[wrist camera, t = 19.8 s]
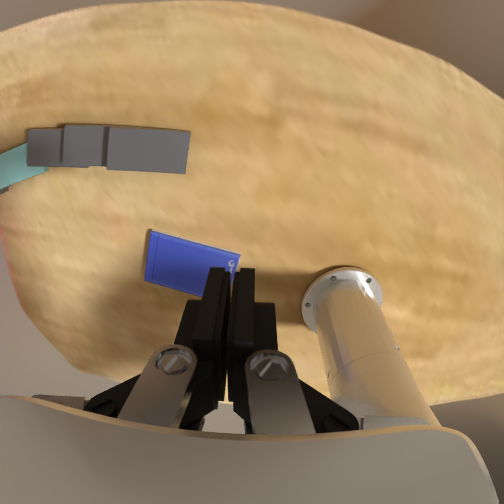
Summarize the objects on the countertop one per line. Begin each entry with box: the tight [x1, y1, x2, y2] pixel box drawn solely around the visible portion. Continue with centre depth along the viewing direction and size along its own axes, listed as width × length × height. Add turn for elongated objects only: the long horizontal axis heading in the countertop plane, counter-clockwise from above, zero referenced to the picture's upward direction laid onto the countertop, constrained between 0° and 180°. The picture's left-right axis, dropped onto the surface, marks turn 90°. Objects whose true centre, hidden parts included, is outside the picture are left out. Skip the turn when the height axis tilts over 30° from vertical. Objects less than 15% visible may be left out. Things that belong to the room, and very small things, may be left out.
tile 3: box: [27, 128, 89, 168], centre depth 32 cm, size 2×5×10 cm
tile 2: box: [63, 124, 139, 167], centre depth 33 cm, size 2×5×10 cm
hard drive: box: [144, 229, 241, 297], centre depth 42 cm, size 2×8×12 cm
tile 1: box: [107, 126, 191, 174], centre depth 33 cm, size 2×5×10 cm
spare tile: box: [0, 143, 48, 189], centre depth 33 cm, size 2×5×10 cm
